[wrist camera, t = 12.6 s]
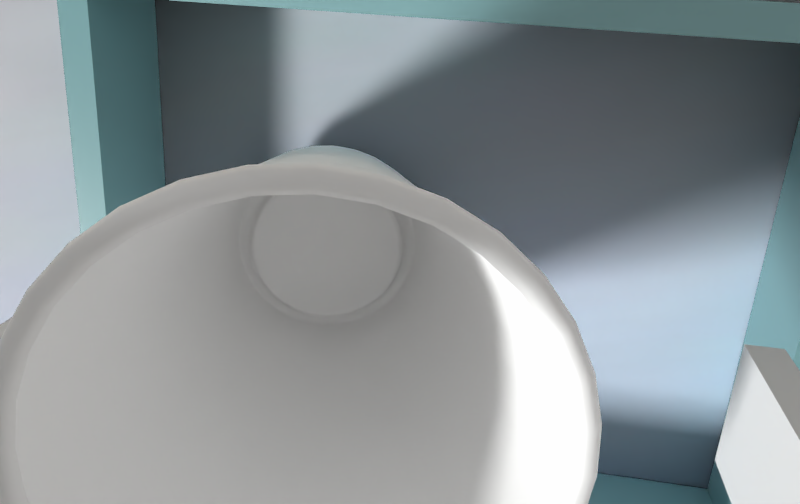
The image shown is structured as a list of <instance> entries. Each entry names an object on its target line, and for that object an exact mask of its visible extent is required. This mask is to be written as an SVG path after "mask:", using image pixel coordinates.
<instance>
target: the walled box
mask: <svg viewBox="0 0 800 504" xmlns="http://www.w3.org/2000/svg"><path fill="white" fill-rule="evenodd" d="M171 1H185V2H200V3H215V4H229V5H244V6H259V7H273V8H288V9H303V10H317V11H332V12H347V13H361V14H376V15H391V16H405V17H420V18H435V19H449V20H464V21H479V22H493V23H508V24H523V25H537V26H552V27H567V28H581V29H596V30H611V31H625V32H640V33H655V34H669V35H684V36H699V37H713V38H728V39H743V40H757V41H772V42H787V43H800V3H794V2H778V1H761V0H171ZM57 6H58V15H59V25H60V35H61V45H62V55H63V65H64V75H65V85H66V95H67V104H68V114H69V124H70V134H71V144H72V154H73V164H74V174H75V184H76V193H77V203H78V213H79V223H80V233H81V234H82V233H83V232H84V231H86V230H87V229H89V228H90V227H91V226H93V225H94V224H96V223H97V222H98V221H100V220H101V219H102V218H104V217H105V216H107V215H108V214H109V213H111V212H112V211H114V210H115V209H116V208H118V207H119V206H121V205H123V204H126V203H128V202H130V201H132V200H135V199H137V198H139V197H141V196H144V195H146V194H148V193H151V192H153V191H155V190H157V189H160V188H162V187H164V186H165V170H164V152H163V135H162V117H161V99H160V82H159V64H158V47H157V29H156V12H155V0H57ZM744 344H747V345H755V346H763V347H772V348H780V349H785V350H786V351H787V353H788V354H789V356H790V357H791V359H792V360H793V362H794V363H795V365H796V366H797V368H798V369H799V370H800V117H799V121H798V125H797V129H796V133H795V137H794V141H793V145H792V149H791V153H790V157H789V161H788V165H787V169H786V173H785V177H784V181H783V186H782V190H781V194H780V198H779V202H778V206H777V210H776V214H775V218H774V222H773V226H772V230H771V234H770V238H769V242H768V246H767V250H766V254H765V258H764V262H763V266H762V270H761V274H760V278H759V282H758V287H757V291H756V295H755V299H754V303H753V307H752V311H751V315H750V319H749V323H748V327H747V331H746V335H745V339H744V343H743V346H744ZM742 350H743V347H742ZM741 354H742V351H741ZM740 358H741V355H740ZM739 362H740V359H739ZM738 366H739V363H738ZM737 370H738V367H737ZM736 374H737V371H736ZM735 378H736V375H735ZM734 382H735V379H734ZM733 386H734V383H733ZM732 390H733V388H732ZM731 394H732V392H731ZM730 398H731V396H730ZM729 402H730V400H729ZM728 406H729V404H728ZM727 410H728V408H727ZM726 414H727V412H726ZM725 418H726V416H725ZM724 422H725V420H724ZM723 426H724V424H723ZM722 430H723V428H722ZM721 433H722V432H721ZM720 437H721V436H720ZM719 441H720V440H719ZM718 445H719V444H718ZM717 449H718V448H717ZM716 453H717V452H716ZM715 457H716V456H715ZM588 504H731V501H730V498H729V496H728V493H727V491H726V488H725V485H724V483H723V480H722V478H721V475H720V472H719V470H718V467H717V464H716V462H715V460H714V464H713V468H712V472H711V476H710V480H709V485H708V489H704V488H697V487H690V486H683V485H677V484H670V483H663V482H656V481H649V480H642V479H635V478H629V477H622V476H615V475H608V474H601V473H597V478H596V481H595V484H594V487H593V490H592V493H591V496H590V499H589V502H588Z"/></svg>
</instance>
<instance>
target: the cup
mask: <svg viewBox="0 0 800 504" xmlns="http://www.w3.org/2000/svg"><path fill="white" fill-rule="evenodd" d="M601 431H602V420H601V413H600V405H599V398H598V390H597V382H596V375H595V372H594V369H593V366H592V364H591V361H590V358H589V356H588V353H587V350H586V348H585V345H584V342H583V340H582V337H581V334H580V332H579V329H578V326H577V324H576V321H575V320H574V318H573V317H572V315H571V314H570V312H569V311H568V309H567V308H566V306H565V305H564V303H563V302H562V300H561V299H560V297H559V296H558V294H557V293H556V291H555V290H554V288H553V287H552V285H551V284H550V282H549V281H548V279H547V278H546V276H545V275H544V273H543V272H541V271H540V270H539V269H538V268H537V267H536V266H535V265H534V264H533V263H532V262H531V261H530V260H529V259H528V258H527V257H526V256H525V255H524V254H523V253H522V252H521V251H520V250H519V249H518V248H517V247H516V246H515V245H514V244H513V243H511V242H510V241H509V240H508V239H507V238H506V237H505V236H504V235H503V234H502V233H501V232H500V231H498V230H497V229H495V228H493V227H492V226H490V225H489V224H487V223H485V222H484V221H482V220H481V219H479V218H477V217H476V216H474V215H473V214H471V213H469V212H468V211H466V210H465V209H463V208H462V207H460V206H458V205H457V204H455V203H454V202H452V201H450V200H449V199H447V198H445V197H442V196H439V195H437V194H434V193H432V192H429V191H426V190H424V189H421V188H418V187H416V186H415V185H413V184H412V183H411V182H410V181H408V180H407V179H406V178H404V177H403V176H402V175H401V174H400V173H398V172H397V171H396V170H394V169H393V168H392V167H390V166H388V165H387V164H385V163H384V162H382V161H380V160H379V159H377V158H376V157H374V156H371V155H369V154H366V153H363V152H361V151H358V150H355V149H351V148H345V147H340V146H334V145H327V146H309V147H304V148H299V149H295V150H290V151H288V152H286V153H283V154H281V155H278V156H276V157H274V158H272V159H269V160H267V161H264V162H262V163H260V164H253V165H244V166H239V167H234V168H230V169H225V170H221V171H216V172H212V173H207V174H202V175H198V176H193V177H189V178H184V179H180V180H178V181H176V182H173V183H171V184H169V185H166V186H164V187H162V188H160V189H157V190H155V191H153V192H151V193H148V194H146V195H144V196H141V197H139V198H137V199H135V200H132V201H130V202H128V203H126V204H123V205H121V206H119V207H118V208H116V209H115V210H114V211H112V212H111V213H109V214H108V215H107V216H105V217H104V218H102V219H101V220H100V221H98V222H97V223H96V224H94V225H93V226H91V227H90V228H89V229H87V230H86V231H84V232H83V233H82V234H80V235H79V236H78V237H76V238H75V239H73V240H72V241H71V242H69V243H68V244H67V245H66V246H65V247H64V248H63V250H62V251H61V252H60V253H59V254H58V255H57V256H56V257H55V259H54V260H53V261H52V262H51V263H50V264H49V265H48V267H47V268H46V269H45V270H44V271H43V272H42V273H41V274H40V276H39V277H38V278H37V279H36V280H35V281H34V282H33V284H32V285H31V286H30V287H29V288H28V289H27V291H26V292H25V294H24V296H23V298H22V300H21V302H20V304H19V305H18V307H17V309H16V311H15V313H14V315H13V317H12V319H11V321H10V322H9V324H8V326H7V328H6V330H5V332H4V334H3V336H2V337H1V339H0V504H588V502H589V499H590V496H591V493H592V490H593V487H594V484H595V481H596V478H597V472H598V462H599V452H600V441H601Z"/></svg>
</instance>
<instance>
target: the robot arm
mask: <svg viewBox="0 0 800 504" xmlns="http://www.w3.org/2000/svg"><path fill="white" fill-rule="evenodd" d="M11 319H12V317H11V318H10V319H8V320H7V321H5V322H4V323H2V324H1V325H0V339H1V337H2V336H3V334H4V332H5V330H6V328H7V326H8V324H9V322H10V321H11ZM715 462H716V464H717V467H718V470H719V472H720V475H721V478H722V480H723V483H724V485H725V488H726V491H727V493H728V496H729V498H730V501H731V504H800V370H799V369H798V368H797V366H796V365H795V363H794V362H793V360H792V359H791V357H790V356H789V354H788V353H787V351H786V350H785V349H780V348H772V347H763V346H755V345H747V344H744V346H743V350H742V354H741V358H740V362H739V366H738V370H737V374H736V378H735V382H734V386H733V390H732V394H731V398H730V402H729V406H728V410H727V414H726V418H725V422H724V426H723V430H722V433H721V437H720V441H719V445H718V449H717V453H716V457H715Z"/></svg>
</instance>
